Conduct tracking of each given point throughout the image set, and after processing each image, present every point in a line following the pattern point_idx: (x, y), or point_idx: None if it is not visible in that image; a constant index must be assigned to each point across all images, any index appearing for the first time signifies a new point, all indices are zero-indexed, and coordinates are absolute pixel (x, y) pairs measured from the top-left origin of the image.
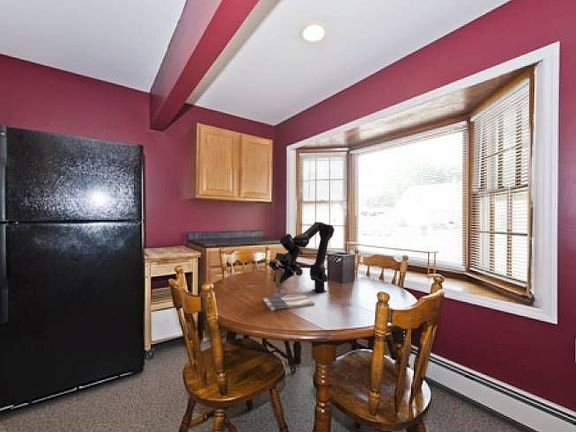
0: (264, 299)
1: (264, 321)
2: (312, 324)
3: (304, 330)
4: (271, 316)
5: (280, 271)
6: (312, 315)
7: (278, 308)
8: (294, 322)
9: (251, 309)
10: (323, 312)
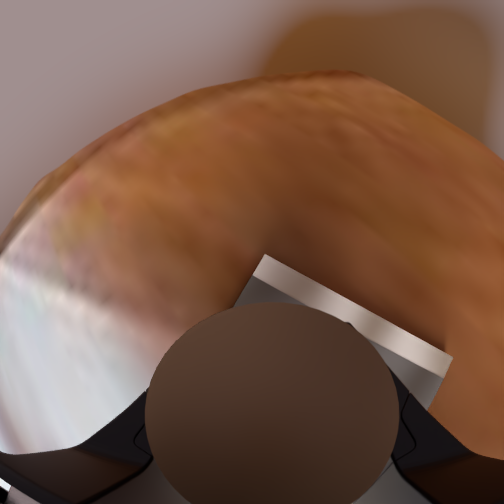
0: (427, 344)
1: (196, 147)
2: (32, 265)
3: (38, 205)
4: (209, 206)
5: (162, 376)
6: (64, 351)
7: (239, 298)
8: (85, 231)
9: (377, 203)
10: (54, 411)
